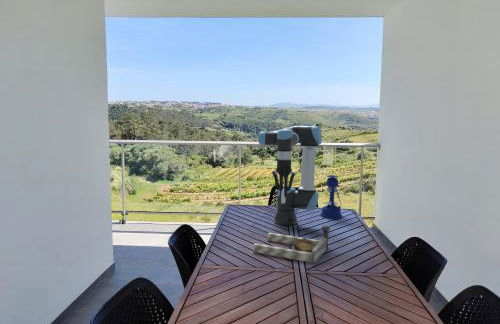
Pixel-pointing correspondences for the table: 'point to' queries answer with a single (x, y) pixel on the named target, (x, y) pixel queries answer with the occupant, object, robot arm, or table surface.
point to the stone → (303, 245)
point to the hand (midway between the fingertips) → (283, 202)
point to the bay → (293, 254)
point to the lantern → (332, 200)
